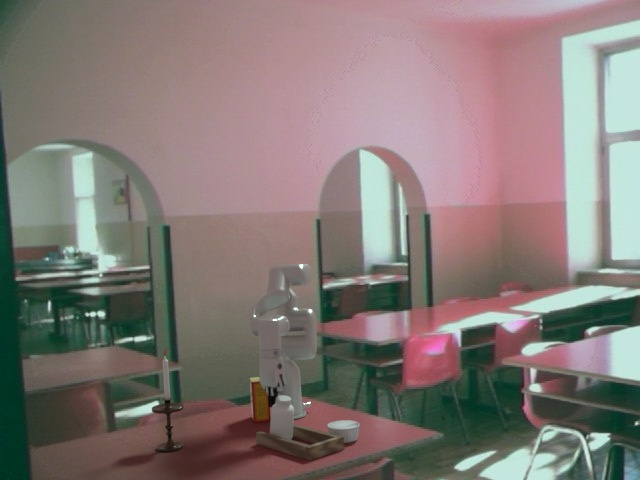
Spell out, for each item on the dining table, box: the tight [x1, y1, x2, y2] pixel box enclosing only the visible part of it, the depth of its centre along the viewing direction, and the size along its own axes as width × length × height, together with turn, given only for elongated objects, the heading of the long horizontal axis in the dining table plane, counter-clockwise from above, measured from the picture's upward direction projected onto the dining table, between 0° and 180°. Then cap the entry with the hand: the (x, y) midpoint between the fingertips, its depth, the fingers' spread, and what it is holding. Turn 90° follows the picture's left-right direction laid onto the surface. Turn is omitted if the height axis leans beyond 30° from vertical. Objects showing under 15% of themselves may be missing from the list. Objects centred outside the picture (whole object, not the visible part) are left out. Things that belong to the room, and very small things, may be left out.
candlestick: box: [151, 347, 185, 453], centre depth 246 cm, size 11×11×35 cm
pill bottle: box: [269, 395, 295, 440], centre depth 245 cm, size 8×8×15 cm
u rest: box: [255, 423, 345, 461], centre depth 239 cm, size 15×28×4 cm, turn 42°
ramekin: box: [326, 419, 361, 444], centre depth 245 cm, size 11×11×5 cm
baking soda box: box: [248, 376, 271, 424], centre depth 278 cm, size 10×6×16 cm
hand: (273, 406), depth 248 cm, fingers closed
